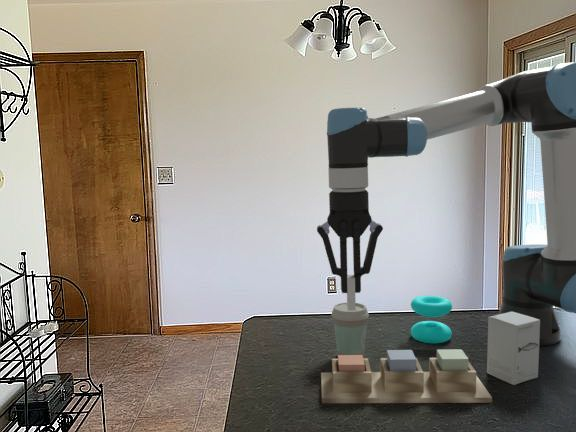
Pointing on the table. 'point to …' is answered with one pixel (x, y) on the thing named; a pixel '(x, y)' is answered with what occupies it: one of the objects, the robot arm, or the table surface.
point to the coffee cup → (350, 328)
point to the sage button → (452, 360)
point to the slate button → (401, 360)
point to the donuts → (431, 329)
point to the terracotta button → (350, 363)
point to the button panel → (403, 385)
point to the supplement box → (513, 347)
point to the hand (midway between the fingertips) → (351, 308)
